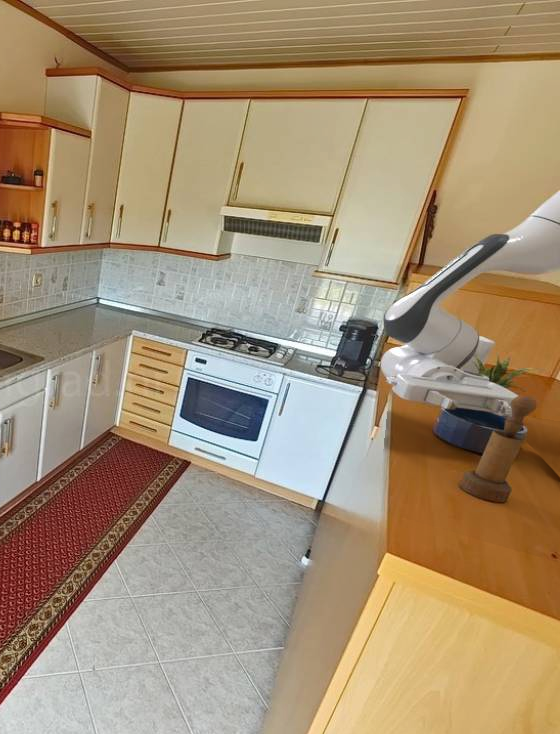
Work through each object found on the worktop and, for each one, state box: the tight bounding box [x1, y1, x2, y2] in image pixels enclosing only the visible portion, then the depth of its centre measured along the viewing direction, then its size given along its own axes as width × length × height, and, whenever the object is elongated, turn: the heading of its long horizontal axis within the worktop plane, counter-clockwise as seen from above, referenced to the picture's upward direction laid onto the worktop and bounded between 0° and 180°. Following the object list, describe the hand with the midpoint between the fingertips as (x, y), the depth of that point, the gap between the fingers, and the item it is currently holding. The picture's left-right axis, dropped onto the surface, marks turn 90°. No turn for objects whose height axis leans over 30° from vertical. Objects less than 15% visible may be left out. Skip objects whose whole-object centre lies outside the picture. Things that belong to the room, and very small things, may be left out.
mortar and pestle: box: [459, 395, 538, 503], centre depth 82 cm, size 7×6×18 cm
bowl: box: [432, 406, 529, 455], centre depth 105 cm, size 14×14×6 cm
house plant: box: [473, 354, 544, 413], centre depth 118 cm, size 14×14×16 cm
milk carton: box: [459, 335, 496, 374], centre depth 129 cm, size 9×9×20 cm
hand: (480, 409), depth 88 cm, fingers open, 8 cm apart
